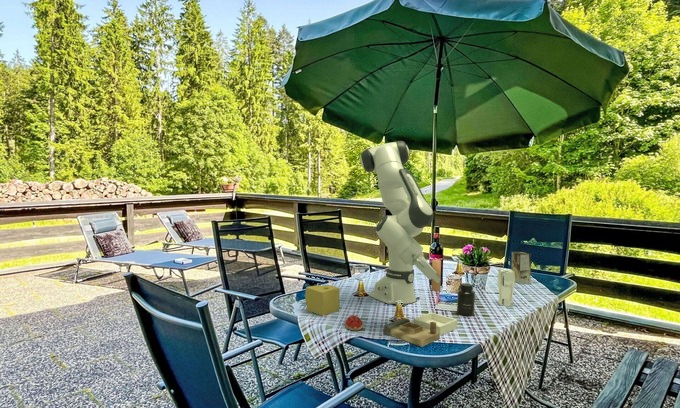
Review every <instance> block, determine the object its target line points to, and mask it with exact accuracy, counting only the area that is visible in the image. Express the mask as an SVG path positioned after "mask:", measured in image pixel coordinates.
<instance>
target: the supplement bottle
mask: <svg viewBox="0 0 680 408" xmlns="http://www.w3.org/2000/svg"><path fill="white" fill-rule="evenodd" d="M473 286H474V285H473V284H471V283H465V282H463V283H460V286H459V287H460V288H459V289H460V290H458V291H457V298H456V300H457V301H456V313H457V314H459V315H460V316H466V317H472V316H474V315H475V309H476V308H475V307H476V305H475V303H476V301H475V300H476V294H475V292H474V291H473Z"/></svg>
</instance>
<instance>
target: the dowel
mask: <svg viewBox="0 0 680 408" xmlns="http://www.w3.org/2000/svg"><path fill="white" fill-rule="evenodd" d="M431 266H432V268H433V269H434V270H435V271H436V272H437V274H436V275H437V276H438V277H439V278H440V279H441V278H442V277H441V275H442V270H441V269H442V260H441V259H432V260H431ZM441 281H442V279H441ZM441 281H440V282H439V283H437V282H436V281H435V280H433V279H431V291H433V292H441V285H442V283H441Z"/></svg>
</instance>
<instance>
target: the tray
mask: <svg viewBox="0 0 680 408" xmlns="http://www.w3.org/2000/svg"><path fill="white" fill-rule="evenodd" d="M430 322H436V332H438V333H439V337H441V336H443V335H444V334H445V335H446V334H447V333H449V332H451V331H452V332H453V331H454V330H456V329H458V319H456V318H452V317H449V316H445V315H441V314H438V313H435V312H432V311H431V312H429V313H427V314H423V315H420V316H417V317H415V318H413V323H415V324H418V325H421V326H423V328H425V329H429V330H430Z"/></svg>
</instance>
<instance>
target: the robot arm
mask: <svg viewBox="0 0 680 408" xmlns="http://www.w3.org/2000/svg"><path fill="white" fill-rule="evenodd" d="M409 159H410V150H409V147H408V145H407V144H406V142H405V141H403V140H398V141H397V140H396V141H393V142H386V143H382V144H379V145H377V146H373V147H371V148H367V149H364V150H363V151H362V152H361V153H360V157H359V161H360V166H361V167H362V169H363V170H364V172H366V173H374V172H376V176H377V183H378V189H379V192H380V198H381V200H382V205H383V206H384V207H385V208H386V209H387V210H388V211H389V212H390V214H392V215H384V216H383V217H382V218H381V219H380V220H379V221H378V223H377V225H376V226H375V232H376V234H377V236H378V238H379V239H380V240H381V241H382V243H384V244H385V245H386V247H387V251H388V268H386V269H384V270H383V272H384V273H385V276H383V277H381V279H379V280H377V281H376V283H375V284H374V288H373V291H371V292H369V294H368V296H369V297H372V298H373V299H376V300H379V301H380V302H383V303H386V304H396V303H395V301H397V300H401V301H402V302H403V305H404V304H412V303H415V302H416V301H417V297H416V292H415V285H414V279H415V268H414V266H415V267H416V268H417V269H418V270H419V271H420V272H421V273H422V274H423V275H424V276H425V277H426V278H427V279H428V280H432V279H433V280H435V281H436V282H437V283H439V282H440V281H442V279H440V278H439V277H438V276H437V275H436V274H437V272H436V271H435V270H434V269H433V268H432V264H430V263H429V262H428V261H427V259H426V258H425V256H424V255H425V254H424V252H423V250H424V247H423V246H422V245H421V244H420V243H419V242H418V241H417V240H416V239H415V237H416V236H417V237H418V235H420V234H421V233H422V232H423V231H424V228H426V227H427V226H429V225H431V224H432V223H433V220H434V211H433V208H432V206H431V204H430V203H429V202H428V201H427V200H426V198H425V197H426V196H424V194H423V192H422V190H421V188H420V186H419V185H418V184H419V183H418V182H417V180H416V179H415V176H414V175H413V173H411V171H410V170H409V169H406V168H404V166H405V164H407V163H408V160H409Z"/></svg>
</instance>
